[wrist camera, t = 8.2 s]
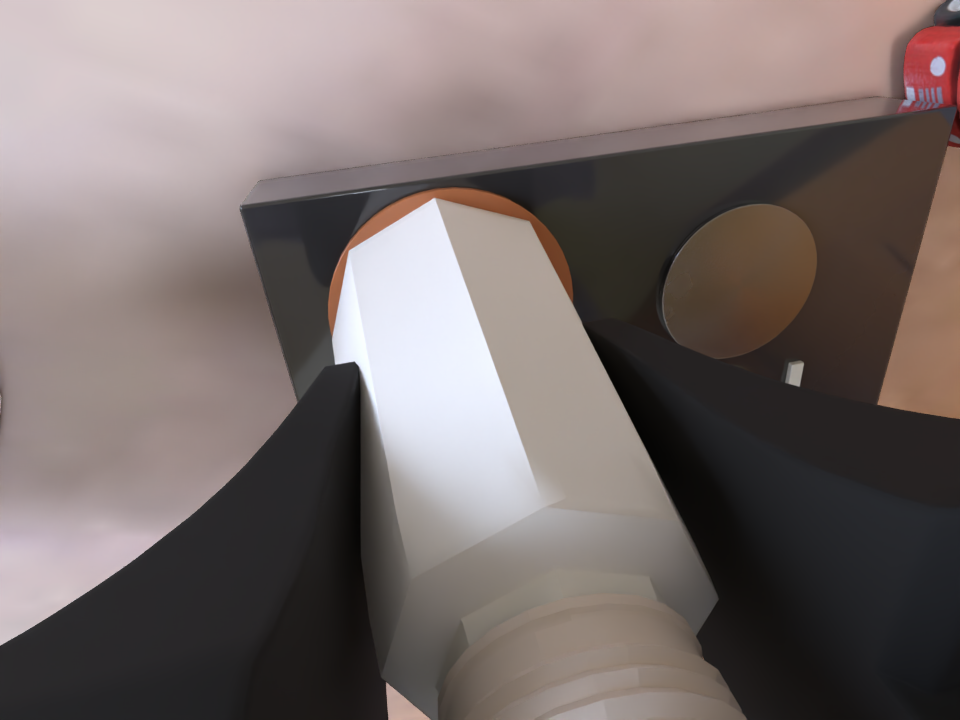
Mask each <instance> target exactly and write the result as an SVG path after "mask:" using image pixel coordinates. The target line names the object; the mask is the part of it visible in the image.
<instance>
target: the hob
mask: <svg viewBox="0 0 960 720" xmlns="http://www.w3.org/2000/svg"><path fill="white" fill-rule="evenodd" d="M957 109H958V107H957V106H955V105H948V104H940V103H931V102H922V101H913V100H904V99H896V98H887V97H878V96H877V97H869V98H862V99H855V100H847V101H840V102H833V103H825V104H818V105H811V106H803V107H796V108H788V109H781V110H774V111H766V112H759V113H752V114H744V115H737V116H730V117H722V118H715V119H708V120H700V121H693V122H686V123H678V124H671V125H663V126H656V127H649V128H641V129H634V130H627V131H619V132H612V133H605V134H597V135H590V136H583V137H575V138H568V139H560V140H553V141H546V142H538V143H531V144H524V145H516V146H509V147H502V148H494V149H487V150H480V151H472V152H465V153H458V154H450V155H443V156H435V157H428V158H421V159H413V160H406V161H399V162H391V163H384V164H377V165H369V166H362V167H355V168H347V169H340V170H333V171H325V172H318V173H310V174H303V175H296V176H288V177H281V178H274V179H266V180H260V181H258V182H257V184H256V185H255V186H254V188H253V189H252V190H251V192H250V193H249V194H248V196H247V197H246V198H245V200H244V201H243V203H242V204H241V205H240V212H241V216H242V219H243V222H244V226H245V229H246V232H247V236H248V239H249V242H250V246H251V249H252V253H253V256H254V259H255V263H256V266H257V269H258V273H259V276H260V279H261V283H262V286H263V289H264V293H265V296H266V299H267V303H268V306H269V309H270V313H271V316H272V319H273V323H274V326H275V329H276V333H277V336H278V339H279V343H280V346H281V349H282V353H283V356H284V360H285V363H286V366H287V370H288V373H289V376H290V380H291V383H292V386H293V390H294V393H295V396H296V400H297V403H298V402H299V400H300V399H301V398H302V396H303V395H304V394H305V392H306V391H307V390H308V388H309V387H310V386H311V384H312V383H313V382H314V380H315V379H316V378H317V376H318V375H319V374H320V372H321V371H322V370H323V369H324V367H325V366H330V365H335V359H334V351H333V344H332V335H331V331H330V325H329V319H328V300H329V292H330V285H331V281H332V277H333V274H334V270H335V268H336V265H337V263H338V261H339V258H340V256H341V254H342V253H343V251H344V249H345V248H346V246H347V244H348V243H349V241H350V240H351V239H352V237H353V236H354V235H355V234H356V233H357V231H358V230H359V229H360V228H361V227H362V226H363V225H364V224H365V223H366V222H367V221H368V220H369V219H371V218H372V217H373V216H374V215H375V214H377V213H378V212H380V211H381V210H383V209H384V208H386V207H387V206H389V205H391V204H393V203H394V202H396V201H398V200H400V199H402V198H405V197H407V196H410V195H413V194H416V193H419V192H423V191H427V190H432V189H437V188H450V187H461V188H474V189H479V190H484V191H489V192H492V193H495V194H498V195H501V196H503V197H506V198H508V199H510V200H512V201H514V202H516V203H518V204H519V205H521V206H522V207H524V208H525V209H527V210H528V211H529V212H531V213H532V214H533V215H534V216H535V217H536V218H538V219H539V220H540V221H541V222H542V223H543V224H544V225H545V226H546V227H547V229H548V230H549V231H550V232H551V234H552V235H553V236H554V238H555V239H556V241H557V242H558V244H559V246H560V248H561V249H562V251H563V253H564V256H565V258H566V261H567V263H568V266H569V270H570V275H571V279H572V288H573V306H574V308H575V310H576V312H577V314H578V316H579V318H580V319H581V321H582V323H585V322H591V321H597V320H603V319H609V318H614V319H618V320H621V321H624V322H627V323H629V324H632V325H634V326H637V327H639V328H642V329H644V330H646V331H649V332H651V333H654V334H656V335H658V336H661V337H663V338H665V339H668V340H670V341H672V342H675V343H677V342H676V341H675V340H674V339H673V338H672V337H671V336H670V334H669V333H668V332H667V330H666V328H665V326H664V324H663V321H662V318H661V313H660V307H659V294H660V286H661V282H662V278H663V275H664V272H665V269H666V267H667V264H668V262H669V261H670V259H671V257H672V255H673V253H674V252H675V250H676V249H677V247H678V246H679V245H680V243H681V242H682V241H683V240H684V238H685V237H686V236H687V235H688V234H689V233H690V232H691V231H692V230H693V229H694V228H695V227H697V226H698V225H699V224H700V223H702V222H703V221H704V220H706V219H707V218H709V217H710V216H712V215H714V214H715V213H718V212H720V211H722V210H724V209H726V208H729V207H732V206H735V205H739V204H743V203H751V202H765V203H771V204H775V205H778V206H781V207H783V208H786V209H788V210H790V211H792V212H793V213H795V214H796V215H798V216H799V217H800V218H801V219H802V220H803V221H804V222H805V224H806V225H807V226H808V228H809V230H810V232H811V233H812V235H813V238H814V241H815V244H816V251H817V269H816V275H815V279H814V283H813V286H812V289H811V291H810V294H809V296H808V298H807V300H806V302H805V304H804V305H803V307H802V309H801V310H800V312H799V313H798V314H797V316H796V317H795V318H794V320H793V321H792V322H791V323H790V324H789V325H788V326H787V327H786V328H785V329H784V330H783V331H782V332H781V333H780V334H779V335H778V336H776V337H775V338H773V339H772V340H771V341H769V342H768V343H766V344H765V345H763V346H761V347H760V348H757V349H755V350H753V351H751V352H749V353H746V354H743V355H740V356H735V357H731V358H723V359H717V360H719V361H722V362H725V363H727V364H730V365H733V366H736V367H739V368H742V369H744V370H747V371H750V372H753V373H756V374H759V375H762V376H765V377H768V378H771V379H774V380H778V381H781V382H784V383H788V384H792V385H795V386H799V387H803V388H806V389H810V390H814V391H817V392H821V393H825V394H829V395H833V396H837V397H841V398H846V399H850V400H854V401H859V402H864V403H869V404H874V405H877V403H878V400H879V396H880V392H881V389H882V385H883V381H884V378H885V374H886V370H887V367H888V363H889V359H890V356H891V352H892V348H893V345H894V341H895V337H896V333H897V330H898V326H899V322H900V319H901V315H902V311H903V308H904V304H905V300H906V297H907V293H908V289H909V286H910V282H911V278H912V275H913V271H914V267H915V264H916V260H917V256H918V253H919V249H920V245H921V242H922V238H923V234H924V231H925V227H926V223H927V220H928V216H929V212H930V209H931V205H932V201H933V198H934V194H935V190H936V187H937V183H938V179H939V176H940V172H941V168H942V165H943V161H944V157H945V154H946V150H947V146H948V142H949V139H950V135H951V131H952V128H953V124H954V120H955V117H956V113H957ZM677 344H678V343H677Z"/></svg>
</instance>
